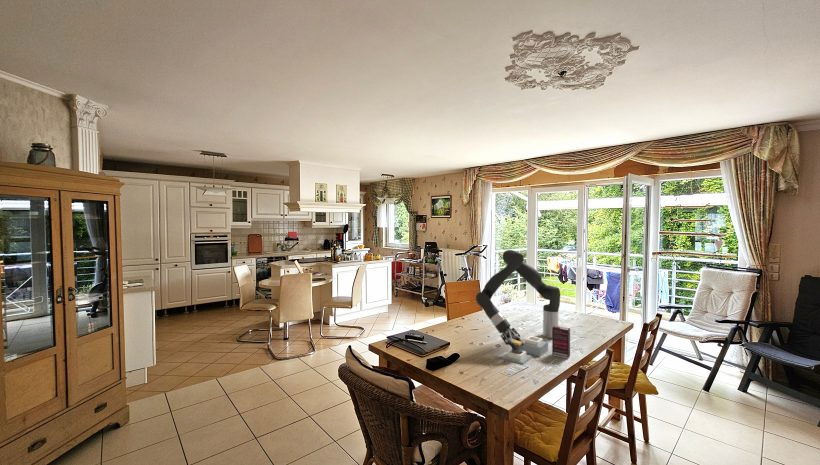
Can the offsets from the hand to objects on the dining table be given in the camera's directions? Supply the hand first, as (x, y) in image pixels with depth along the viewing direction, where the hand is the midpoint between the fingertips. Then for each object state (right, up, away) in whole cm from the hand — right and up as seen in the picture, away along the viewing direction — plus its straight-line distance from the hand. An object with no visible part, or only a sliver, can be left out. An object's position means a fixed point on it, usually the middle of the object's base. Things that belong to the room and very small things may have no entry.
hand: (519, 347), depth 180 cm
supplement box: (+25, -6, +5) cm, 26 cm away
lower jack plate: (-1, -6, +1) cm, 6 cm away
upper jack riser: (+12, -6, +12) cm, 18 cm away
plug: (-1, -5, +1) cm, 5 cm away
